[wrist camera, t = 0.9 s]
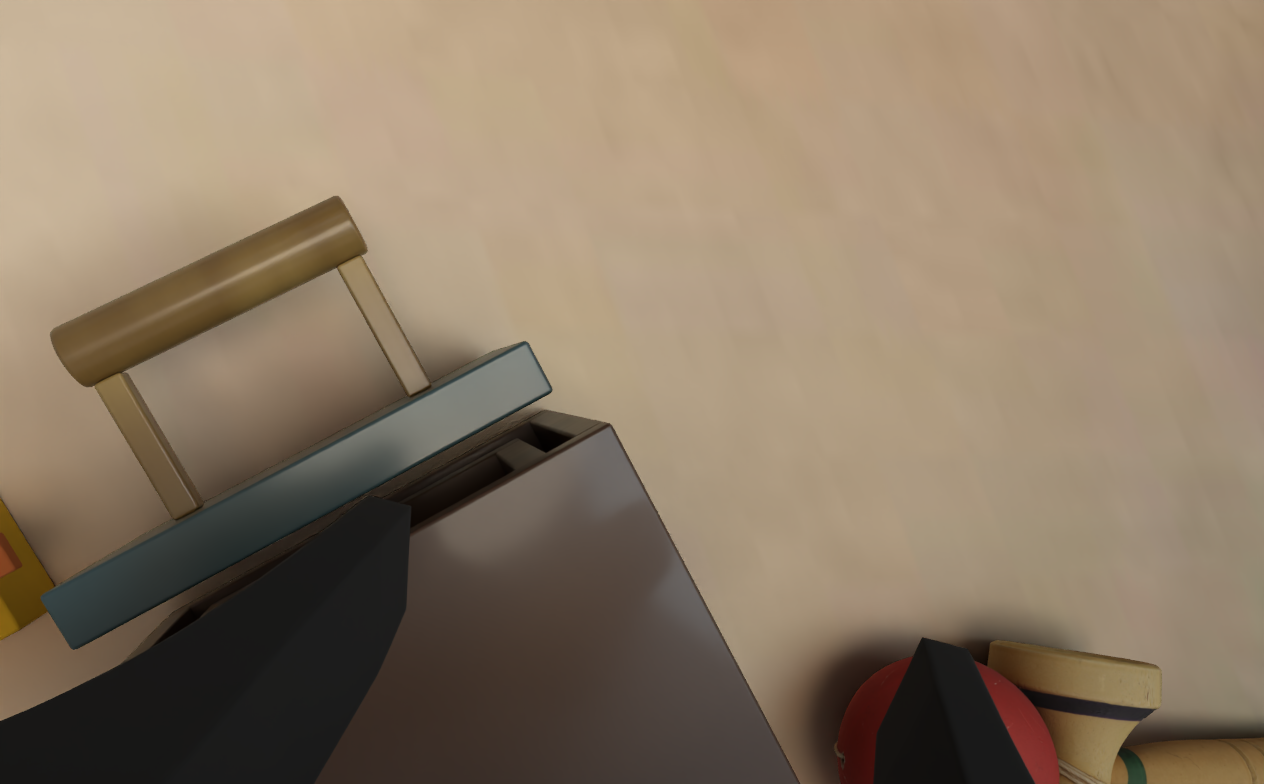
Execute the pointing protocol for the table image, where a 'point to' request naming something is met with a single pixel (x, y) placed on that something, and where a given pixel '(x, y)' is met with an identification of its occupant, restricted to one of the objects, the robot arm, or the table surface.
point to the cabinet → (547, 638)
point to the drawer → (303, 481)
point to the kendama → (1064, 722)
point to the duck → (19, 578)
